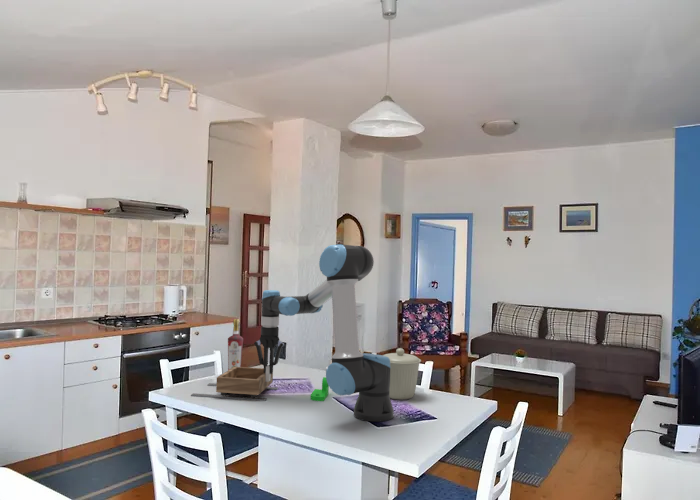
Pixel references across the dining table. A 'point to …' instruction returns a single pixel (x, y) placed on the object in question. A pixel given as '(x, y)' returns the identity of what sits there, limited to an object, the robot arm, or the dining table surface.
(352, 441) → the dining table surface
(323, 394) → the mechanical part
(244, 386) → the wooden crate
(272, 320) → the robot arm
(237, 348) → the liquor
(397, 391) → the canister
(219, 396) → the cart rails
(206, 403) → the dining table surface
